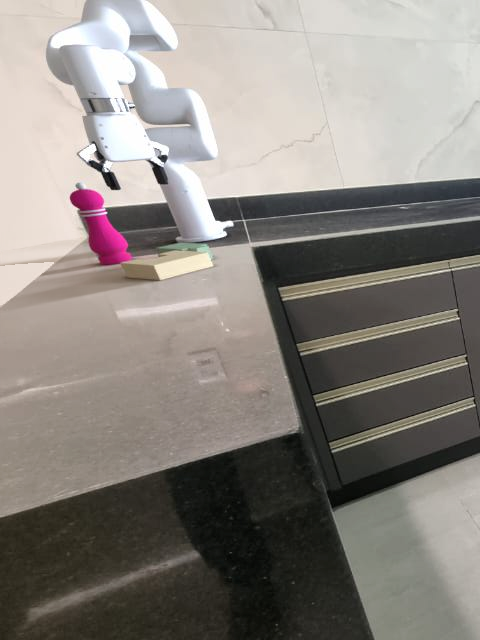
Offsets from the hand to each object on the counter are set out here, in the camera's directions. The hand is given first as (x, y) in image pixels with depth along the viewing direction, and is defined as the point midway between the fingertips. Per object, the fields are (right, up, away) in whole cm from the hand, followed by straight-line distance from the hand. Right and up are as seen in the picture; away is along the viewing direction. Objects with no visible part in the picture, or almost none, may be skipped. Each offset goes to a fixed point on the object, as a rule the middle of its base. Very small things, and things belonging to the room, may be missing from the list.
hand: (140, 187), depth 127 cm
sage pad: (+2, -15, +12) cm, 19 cm away
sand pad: (+7, -20, 0) cm, 21 cm away
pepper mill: (-18, -16, +13) cm, 27 cm away
